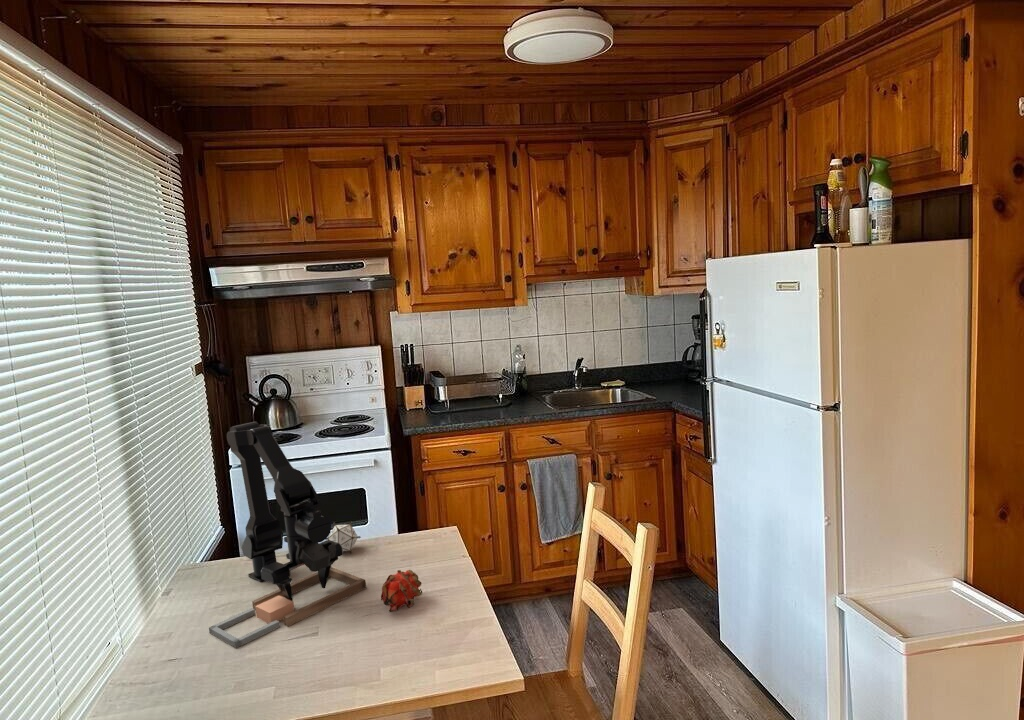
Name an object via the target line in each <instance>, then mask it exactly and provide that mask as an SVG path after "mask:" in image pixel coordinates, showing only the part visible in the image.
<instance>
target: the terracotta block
mask: <svg viewBox="0 0 1024 720" xmlns="http://www.w3.org/2000/svg"><path fill="white" fill-rule="evenodd" d="M255 608H256V611H255V615H256V618H257V619H258V620H261V621H263V622H266V623H267V624H269V623H271V622H273V621H275V620H277V621H279V622H280V621H283V620H284V616H286V615H288V614H290V613H292V612H294V611H296V610H295V602H294V600H293V601H291V600H288V599H286V598H284V597H282V596H276V597H274V598H272V599H270V600H268V601H265V602H263V603H261V604H259V605H257V606H255Z"/></svg>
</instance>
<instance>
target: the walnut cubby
mask: <svg viewBox="0 0 1024 720" xmlns="http://www.w3.org/2000/svg"><path fill="white" fill-rule="evenodd" d="M328 578H331V579H334V580H337V581H340V582H341V583H344V584H347V585H346V586H344V587H342V588H340V589H338V590H336V591H333V592H332V593H329V594H327V595H325V596H323V597H322V598H319V599H318V600H315V601H314V602H311V603H308V604H307V605H305V606H303V607H301V608H299V609H297V610H295V611H294V612H292V613H290V614H288V615H286V616H284V619H283V622H284V623H283V624H284V627H285V626H286V627H290V626H292V625H294V624H297V622H300V621H302V620H304V619H306V618H308V617H310V616H312V615H314V614H316V613H318V612H320V611H322V610H325V609H326V608H328V607H330V606H333V605H334V604H336V603H338V602H340V601H343V600H345V599H347V598H349V597H350V596H353V595H355V594H356V593H358V592H361V591H363V590H364V589H367V581H366V579H364V578H361V577H359V576H357V575H354V574H352V573H348V572H346V571H344V570H340V569H338V568H335V567H332V566H331V568H330V571H329V575H328ZM317 583H320V580H319V576H318V571H316V572H313V574H309V575H308V576H306V577H304V578H301V579H299V580H297V581H295V582H293V583H292V582H291V583H290V585H291V591H292V595H293V594H295V593H298V592H300V591H302V590H304V589H307V588H309V587H311V586H313V585H315V584H317ZM276 596H282V597H284V598H285V596H284V595H283V593H282V592H281V590H280V589H279V588H278V589H276V590H275V591H271V592H270V593H267V594H264V595H263V596H261V597H259V598H256V599H253V600H252V601H251V602H252V608H253V609H255V612H256V608H255V606H257V605H259V604H261V603H263V602H265V601H268V600H270V599H272V598H274V597H276Z"/></svg>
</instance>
